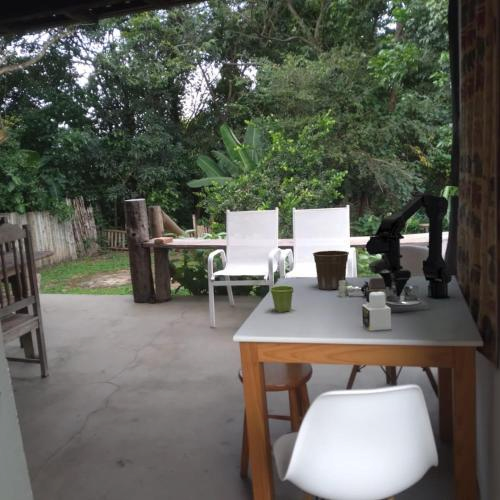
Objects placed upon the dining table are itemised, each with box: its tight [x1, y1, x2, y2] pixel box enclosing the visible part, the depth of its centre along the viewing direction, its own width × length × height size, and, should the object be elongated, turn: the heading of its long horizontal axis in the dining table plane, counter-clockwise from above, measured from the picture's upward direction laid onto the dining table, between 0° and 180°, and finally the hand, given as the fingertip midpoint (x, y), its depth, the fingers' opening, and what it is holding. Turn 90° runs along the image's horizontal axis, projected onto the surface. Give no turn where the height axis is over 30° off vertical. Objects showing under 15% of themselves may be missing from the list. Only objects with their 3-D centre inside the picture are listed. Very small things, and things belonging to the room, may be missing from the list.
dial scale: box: [385, 295, 430, 314], centre depth 181 cm, size 17×14×3 cm
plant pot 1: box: [269, 285, 295, 313], centre depth 186 cm, size 9×9×9 cm
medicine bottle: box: [361, 290, 392, 332], centre depth 157 cm, size 7×7×12 cm
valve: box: [338, 279, 369, 298], centre depth 202 cm, size 7×7×12 cm
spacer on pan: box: [403, 284, 419, 301], centre depth 181 cm, size 5×5×5 cm
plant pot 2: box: [312, 250, 350, 291], centre depth 221 cm, size 16×16×16 cm
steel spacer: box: [385, 286, 401, 302], centre depth 181 cm, size 5×5×5 cm
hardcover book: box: [368, 277, 408, 293], centre depth 217 cm, size 16×23×2 cm
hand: (393, 293), depth 180 cm, fingers open, 9 cm apart
